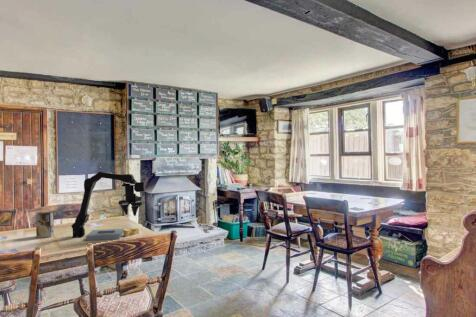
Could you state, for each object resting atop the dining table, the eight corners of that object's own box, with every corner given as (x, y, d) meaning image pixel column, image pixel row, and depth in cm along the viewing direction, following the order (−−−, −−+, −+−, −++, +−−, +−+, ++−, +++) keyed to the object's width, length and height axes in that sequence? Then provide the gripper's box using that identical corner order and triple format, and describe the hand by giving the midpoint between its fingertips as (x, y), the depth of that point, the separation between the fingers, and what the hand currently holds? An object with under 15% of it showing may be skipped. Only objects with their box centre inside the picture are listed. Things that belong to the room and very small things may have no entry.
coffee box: (54, 234, 219) (54, 211, 218) (51, 237, 212) (50, 213, 212) (39, 235, 217) (39, 212, 217) (35, 238, 211) (35, 213, 210)
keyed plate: (86, 240, 204) (86, 235, 204) (92, 234, 220) (92, 230, 219) (119, 238, 208) (119, 234, 208) (123, 232, 223) (123, 228, 223)
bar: (127, 236, 214) (127, 230, 214) (123, 235, 216) (123, 229, 216) (138, 234, 221) (138, 228, 221) (134, 233, 224) (134, 227, 224)
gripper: (147, 191, 218) (149, 214, 219) (131, 190, 229) (132, 212, 230) (134, 193, 209) (135, 217, 210) (117, 192, 220) (118, 215, 221)
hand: (130, 215), depth 218 cm, fingers open, 9 cm apart
